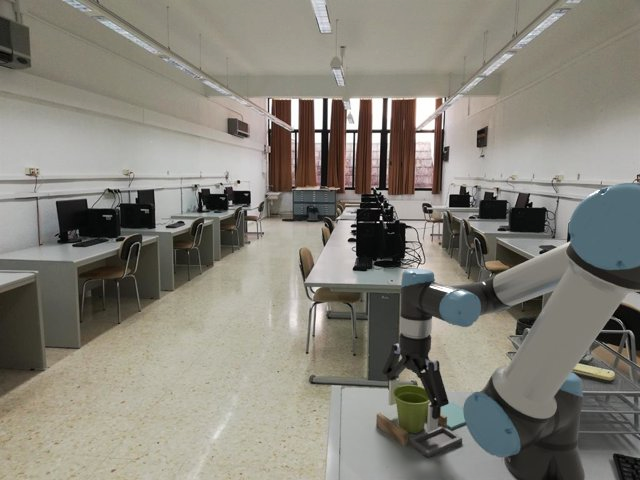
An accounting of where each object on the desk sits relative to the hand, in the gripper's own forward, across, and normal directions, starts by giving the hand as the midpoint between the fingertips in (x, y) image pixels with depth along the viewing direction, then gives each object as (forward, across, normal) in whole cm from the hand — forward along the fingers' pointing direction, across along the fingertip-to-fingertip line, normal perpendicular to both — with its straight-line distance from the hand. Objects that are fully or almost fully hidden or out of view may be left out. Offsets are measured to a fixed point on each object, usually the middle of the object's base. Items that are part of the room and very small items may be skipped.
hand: (411, 416), depth 106 cm
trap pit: (+3, -8, 0) cm, 8 cm away
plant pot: (+3, 0, 0) cm, 3 cm away
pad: (+3, -1, -12) cm, 13 cm away
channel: (+3, 0, 0) cm, 3 cm away
